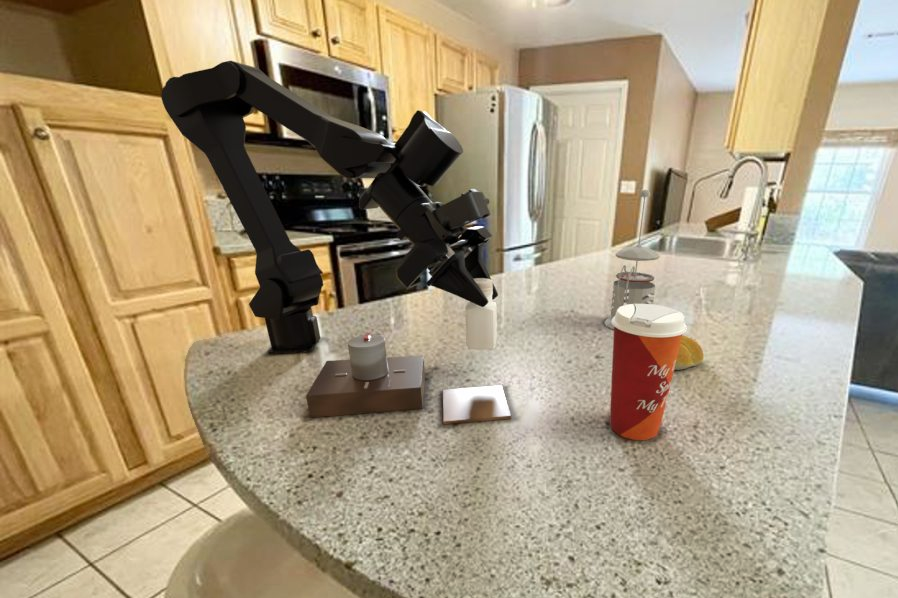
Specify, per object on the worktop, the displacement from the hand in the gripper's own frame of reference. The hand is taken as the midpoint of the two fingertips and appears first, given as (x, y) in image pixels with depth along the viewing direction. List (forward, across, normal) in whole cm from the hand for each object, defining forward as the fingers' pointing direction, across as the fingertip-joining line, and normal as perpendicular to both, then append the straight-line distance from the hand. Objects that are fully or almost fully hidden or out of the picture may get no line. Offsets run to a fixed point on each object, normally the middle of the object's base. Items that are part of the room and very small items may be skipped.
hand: (491, 301), depth 57 cm
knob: (-3, -10, +15) cm, 18 cm away
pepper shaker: (+4, 0, +6) cm, 7 cm away
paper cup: (+22, -8, -7) cm, 25 cm away
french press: (+20, +29, -5) cm, 36 cm away
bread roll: (+26, +14, -10) cm, 31 cm away
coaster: (+9, -9, +7) cm, 14 cm away
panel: (-1, -10, +17) cm, 20 cm away
